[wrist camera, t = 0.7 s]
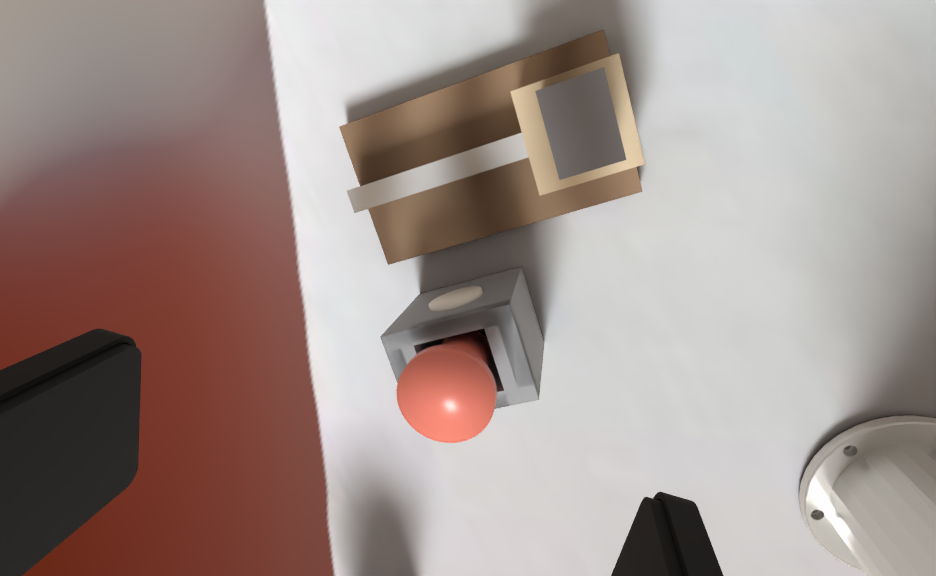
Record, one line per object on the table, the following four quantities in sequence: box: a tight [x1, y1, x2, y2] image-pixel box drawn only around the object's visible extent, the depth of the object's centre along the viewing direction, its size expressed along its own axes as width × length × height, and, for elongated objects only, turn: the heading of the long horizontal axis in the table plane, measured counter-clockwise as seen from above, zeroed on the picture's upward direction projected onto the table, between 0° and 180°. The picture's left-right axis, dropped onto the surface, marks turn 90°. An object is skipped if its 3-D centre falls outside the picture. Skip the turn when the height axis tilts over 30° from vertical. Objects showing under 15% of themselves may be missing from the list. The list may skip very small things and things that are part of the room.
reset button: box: [397, 330, 497, 443], centre depth 30 cm, size 5×5×6 cm
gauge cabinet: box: [381, 267, 544, 409], centre depth 35 cm, size 8×6×9 cm
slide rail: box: [339, 30, 642, 265], centre depth 34 cm, size 18×10×4 cm, turn 108°
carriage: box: [510, 53, 645, 196], centre depth 28 cm, size 6×6×10 cm
